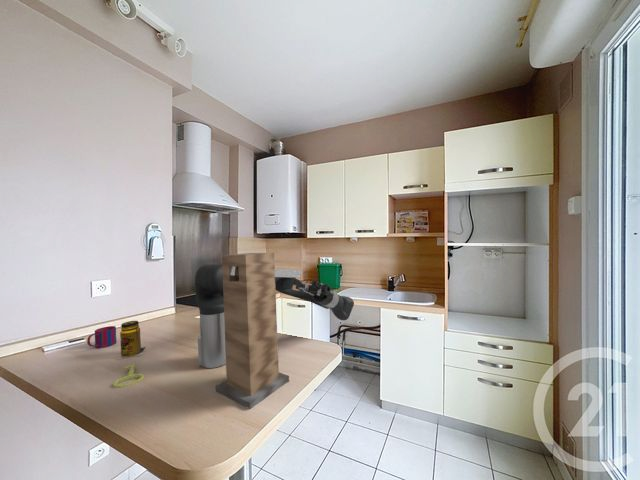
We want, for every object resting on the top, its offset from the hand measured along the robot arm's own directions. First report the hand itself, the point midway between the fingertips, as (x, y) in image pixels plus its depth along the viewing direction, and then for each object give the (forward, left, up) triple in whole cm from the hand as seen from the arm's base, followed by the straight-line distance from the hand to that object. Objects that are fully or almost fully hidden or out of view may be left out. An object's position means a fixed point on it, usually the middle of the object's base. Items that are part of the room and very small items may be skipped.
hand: (303, 281), depth 90 cm
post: (-12, -21, -25) cm, 35 cm away
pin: (-8, -15, +4) cm, 18 cm away
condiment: (-67, 0, -26) cm, 72 cm away
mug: (-86, +6, -26) cm, 90 cm away
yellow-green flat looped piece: (-53, -17, -26) cm, 61 cm away
